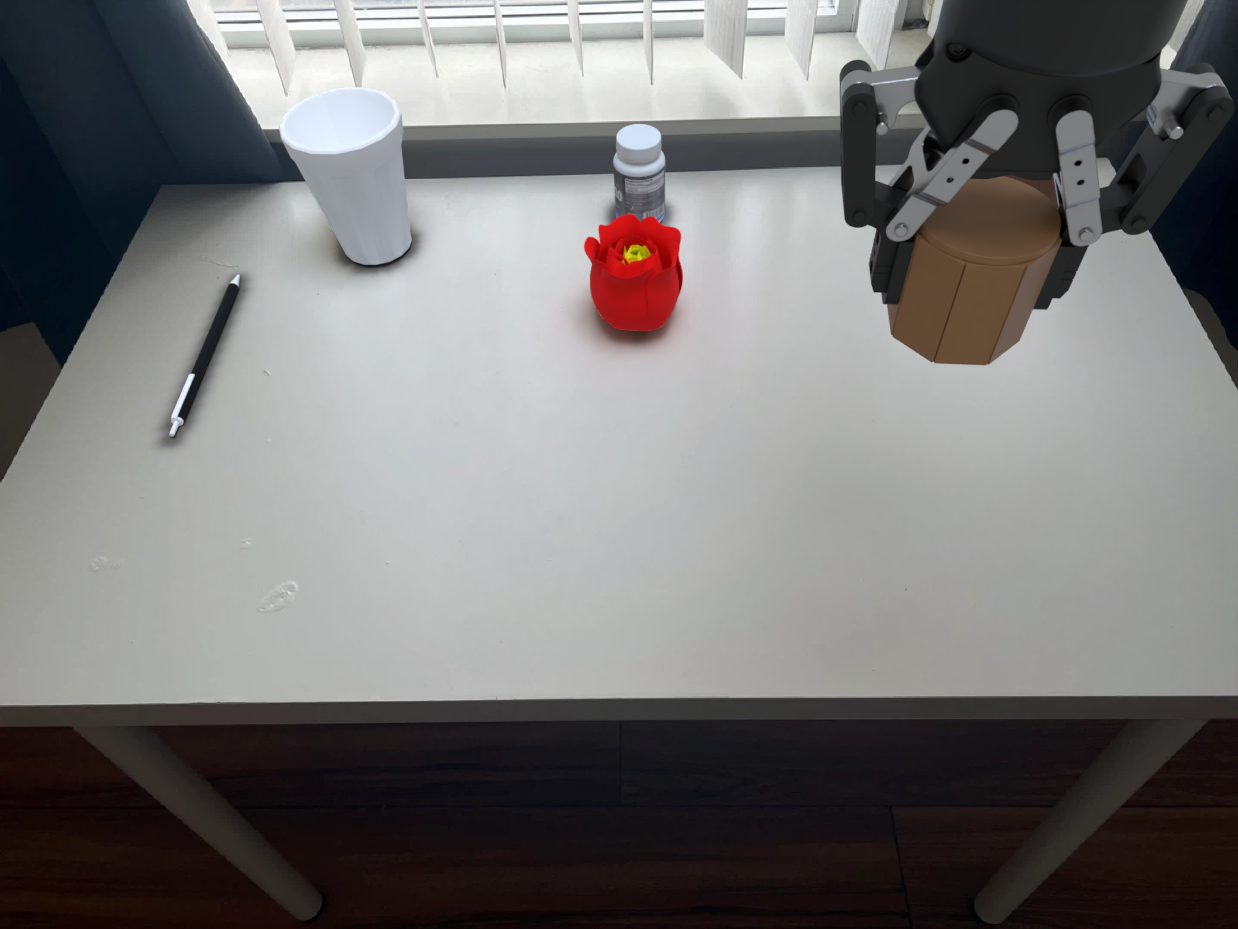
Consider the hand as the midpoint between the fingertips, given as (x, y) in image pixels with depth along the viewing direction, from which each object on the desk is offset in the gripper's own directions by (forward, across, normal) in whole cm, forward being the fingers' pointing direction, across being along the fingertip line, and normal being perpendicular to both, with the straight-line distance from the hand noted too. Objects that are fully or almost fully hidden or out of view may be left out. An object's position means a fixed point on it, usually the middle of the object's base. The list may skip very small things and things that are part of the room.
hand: (961, 294), depth 41 cm
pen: (+25, -53, +18) cm, 61 cm away
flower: (+25, -18, +24) cm, 39 cm away
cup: (+25, -42, +33) cm, 59 cm away
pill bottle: (+25, -18, +38) cm, 49 cm away
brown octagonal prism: (+2, 0, 0) cm, 2 cm away
